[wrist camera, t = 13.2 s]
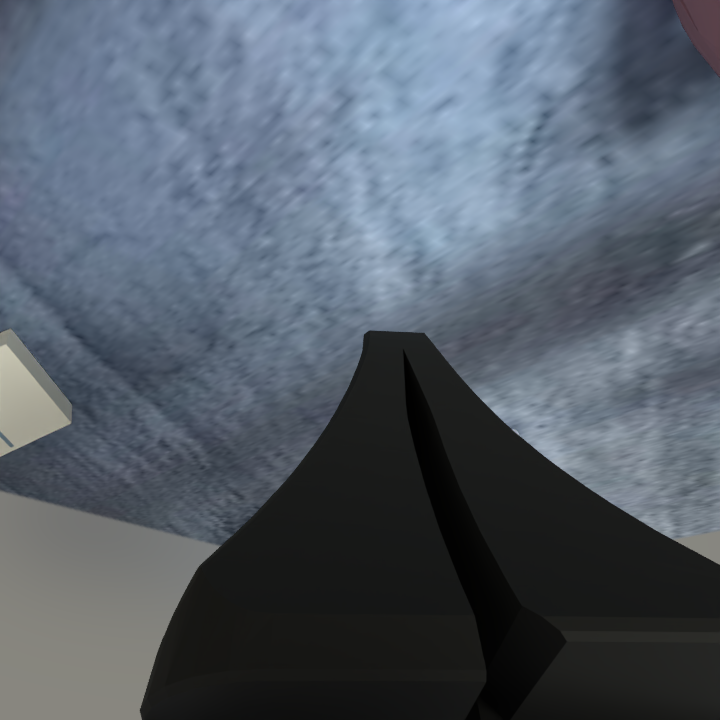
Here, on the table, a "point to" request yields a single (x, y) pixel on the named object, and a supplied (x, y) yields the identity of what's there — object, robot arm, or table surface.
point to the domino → (27, 397)
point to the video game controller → (702, 27)
